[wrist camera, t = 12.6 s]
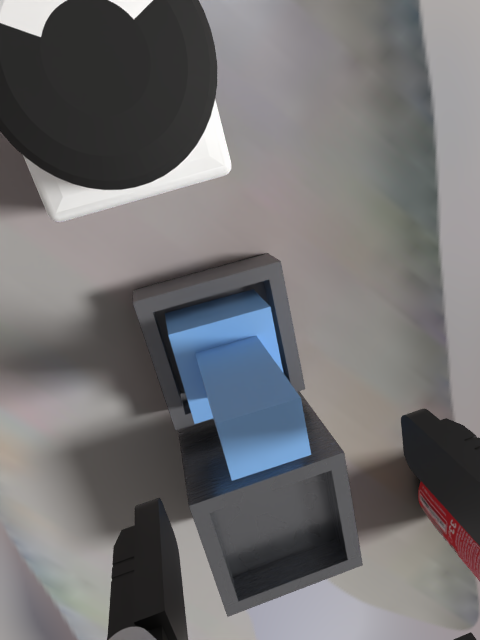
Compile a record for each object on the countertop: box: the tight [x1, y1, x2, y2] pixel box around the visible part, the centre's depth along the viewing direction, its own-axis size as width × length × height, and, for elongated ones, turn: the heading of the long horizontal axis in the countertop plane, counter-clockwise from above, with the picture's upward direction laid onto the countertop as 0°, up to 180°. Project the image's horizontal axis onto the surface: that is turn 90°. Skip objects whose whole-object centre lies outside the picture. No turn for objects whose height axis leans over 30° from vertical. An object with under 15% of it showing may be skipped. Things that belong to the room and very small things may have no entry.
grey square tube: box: [178, 391, 363, 617], centre depth 26 cm, size 8×8×8 cm
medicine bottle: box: [0, 0, 231, 222], centre depth 16 cm, size 7×7×12 cm
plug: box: [165, 289, 311, 481], centre depth 20 cm, size 5×5×10 cm
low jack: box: [133, 253, 305, 430], centre depth 25 cm, size 8×8×2 cm
